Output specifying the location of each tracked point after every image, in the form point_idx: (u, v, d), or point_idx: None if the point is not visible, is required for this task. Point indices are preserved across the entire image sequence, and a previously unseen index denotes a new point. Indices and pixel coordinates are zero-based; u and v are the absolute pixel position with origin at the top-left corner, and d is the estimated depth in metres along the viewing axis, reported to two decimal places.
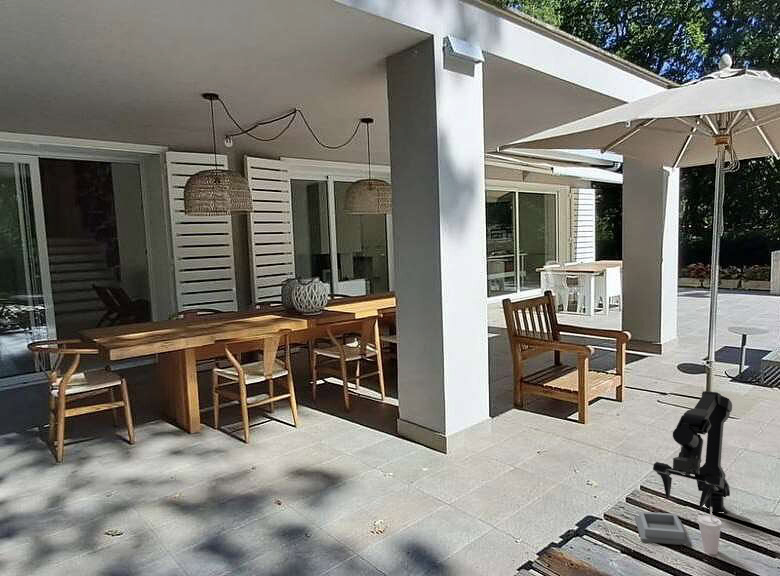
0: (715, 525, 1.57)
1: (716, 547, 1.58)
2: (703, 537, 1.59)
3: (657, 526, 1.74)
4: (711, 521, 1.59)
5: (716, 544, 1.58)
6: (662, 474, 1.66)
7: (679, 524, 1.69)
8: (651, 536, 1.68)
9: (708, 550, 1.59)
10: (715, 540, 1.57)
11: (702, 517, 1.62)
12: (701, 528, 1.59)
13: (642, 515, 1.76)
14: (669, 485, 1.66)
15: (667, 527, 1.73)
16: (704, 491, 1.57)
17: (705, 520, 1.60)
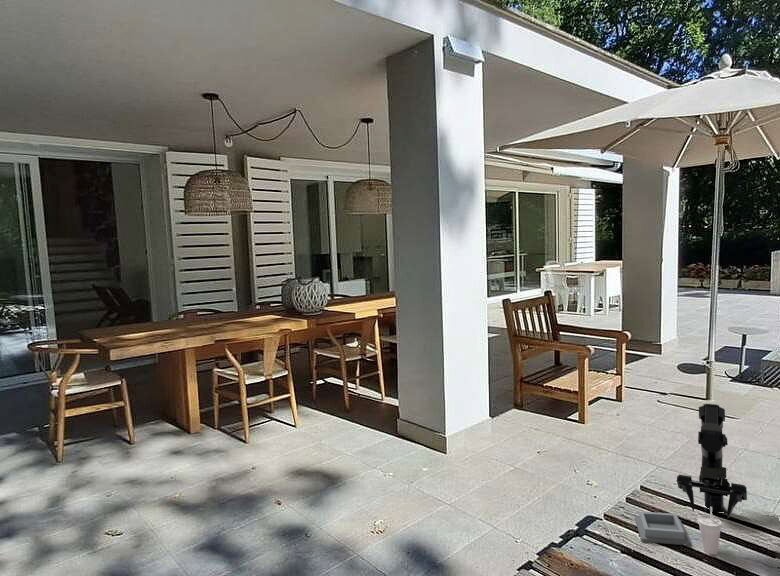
0: (715, 525, 1.57)
1: (716, 547, 1.58)
2: (703, 537, 1.59)
3: (657, 526, 1.74)
4: (711, 521, 1.59)
5: (716, 544, 1.58)
6: (687, 485, 1.67)
7: (679, 524, 1.69)
8: (651, 536, 1.68)
9: (708, 550, 1.59)
10: (715, 540, 1.57)
11: (702, 517, 1.62)
12: (701, 528, 1.59)
13: (642, 515, 1.76)
14: (693, 497, 1.67)
15: (667, 527, 1.73)
16: (731, 500, 1.60)
17: (705, 520, 1.60)
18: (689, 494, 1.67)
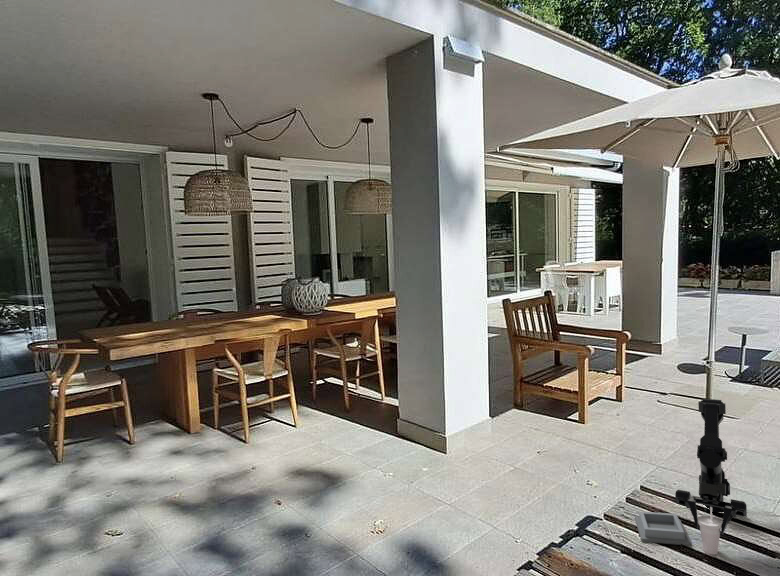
0: (715, 525, 1.57)
1: (716, 547, 1.58)
2: (703, 537, 1.59)
3: (657, 526, 1.74)
4: (711, 521, 1.59)
5: (716, 544, 1.58)
6: (690, 502, 1.63)
7: (679, 524, 1.69)
8: (651, 536, 1.68)
9: (708, 550, 1.59)
10: (715, 540, 1.57)
11: (702, 517, 1.62)
12: (701, 528, 1.59)
13: (642, 515, 1.76)
14: None
15: (667, 527, 1.73)
16: (725, 516, 1.58)
17: (705, 520, 1.60)
18: (693, 511, 1.62)
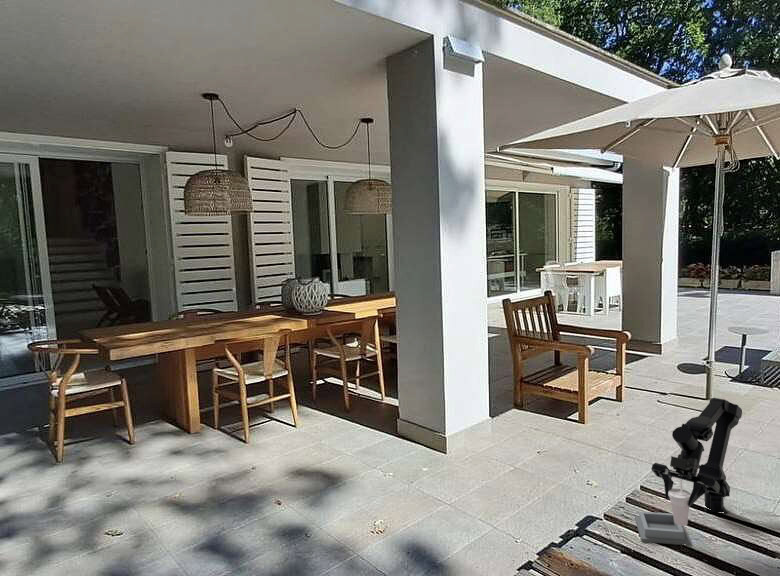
0: (682, 497, 1.63)
1: (684, 519, 1.64)
2: (672, 508, 1.66)
3: (657, 526, 1.74)
4: (680, 494, 1.64)
5: (684, 516, 1.63)
6: (664, 475, 1.69)
7: None
8: (651, 536, 1.68)
9: (677, 521, 1.65)
10: (682, 512, 1.63)
11: (674, 490, 1.67)
12: (670, 499, 1.66)
13: (642, 515, 1.76)
14: (670, 487, 1.69)
15: (667, 527, 1.73)
16: (694, 490, 1.62)
17: (675, 492, 1.65)
18: (665, 483, 1.69)
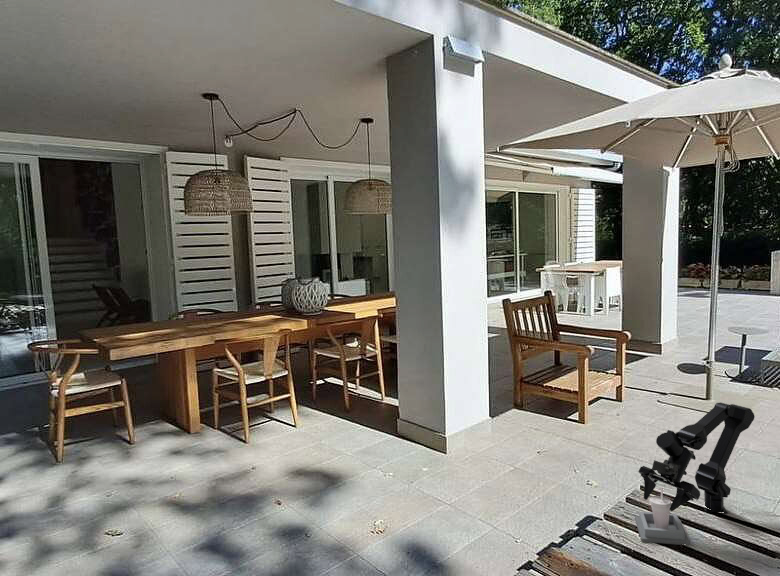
0: (661, 503, 1.69)
1: (663, 525, 1.70)
2: (653, 514, 1.73)
3: None
4: (660, 500, 1.71)
5: (663, 522, 1.70)
6: (644, 476, 1.77)
7: (679, 524, 1.69)
8: (651, 536, 1.68)
9: (656, 526, 1.72)
10: (661, 518, 1.70)
11: (657, 496, 1.74)
12: (651, 505, 1.73)
13: (642, 515, 1.76)
14: (650, 488, 1.76)
15: None
16: (677, 496, 1.67)
17: (656, 499, 1.72)
18: (645, 484, 1.77)
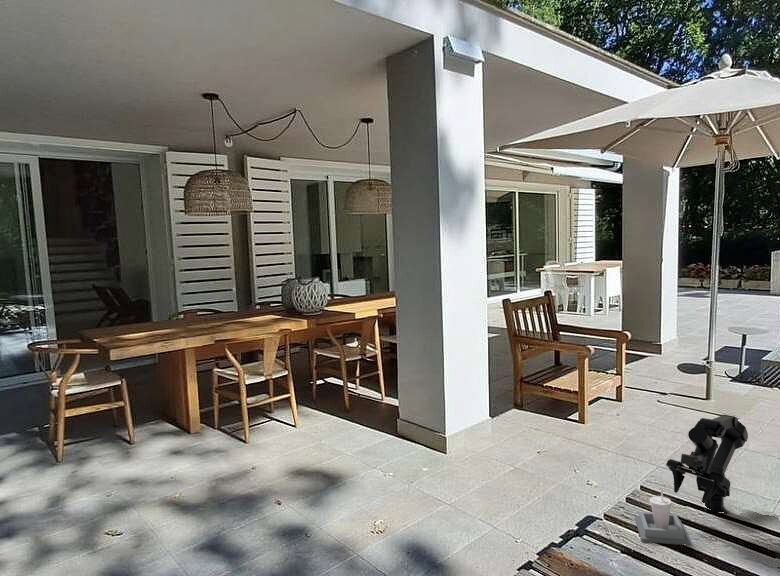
0: (661, 504, 1.69)
1: (663, 525, 1.70)
2: (653, 514, 1.73)
3: None
4: (660, 501, 1.71)
5: (663, 522, 1.70)
6: (673, 469, 1.79)
7: (679, 524, 1.69)
8: (651, 536, 1.68)
9: (656, 526, 1.72)
10: (661, 518, 1.70)
11: (657, 497, 1.74)
12: (651, 505, 1.73)
13: (642, 515, 1.76)
14: (679, 481, 1.79)
15: None
16: (708, 487, 1.69)
17: (656, 499, 1.72)
18: (674, 477, 1.79)
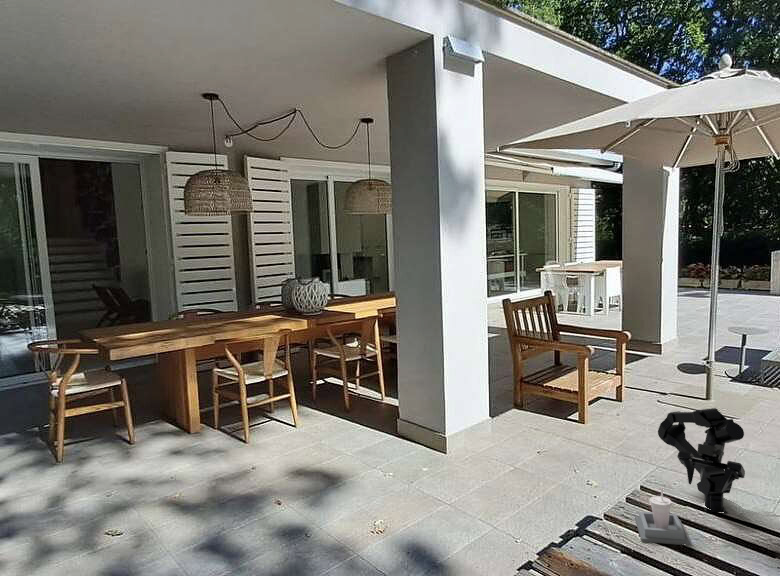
0: (661, 504, 1.69)
1: (663, 525, 1.70)
2: (653, 514, 1.73)
3: None
4: (660, 501, 1.71)
5: (663, 522, 1.70)
6: (686, 461, 1.77)
7: (679, 524, 1.69)
8: (651, 536, 1.68)
9: (656, 526, 1.72)
10: (661, 518, 1.70)
11: (657, 497, 1.74)
12: (651, 505, 1.73)
13: (642, 515, 1.76)
14: (692, 472, 1.77)
15: None
16: (725, 476, 1.69)
17: (656, 499, 1.72)
18: (687, 469, 1.77)
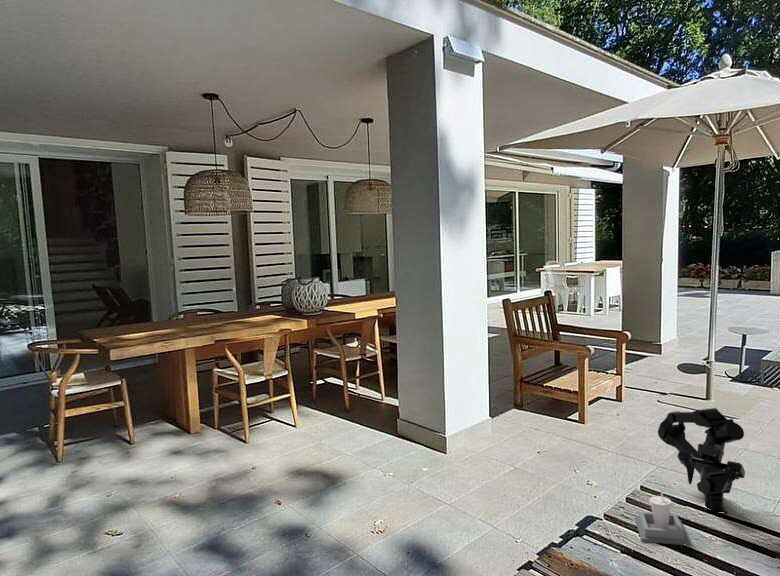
0: (661, 504, 1.69)
1: (663, 525, 1.70)
2: (653, 514, 1.73)
3: None
4: (660, 501, 1.71)
5: (663, 522, 1.70)
6: (686, 461, 1.77)
7: (679, 524, 1.69)
8: (651, 536, 1.68)
9: (656, 526, 1.72)
10: (661, 518, 1.70)
11: (657, 497, 1.74)
12: (651, 505, 1.73)
13: (642, 515, 1.76)
14: (692, 472, 1.77)
15: None
16: (725, 476, 1.69)
17: (656, 499, 1.72)
18: (687, 469, 1.77)
